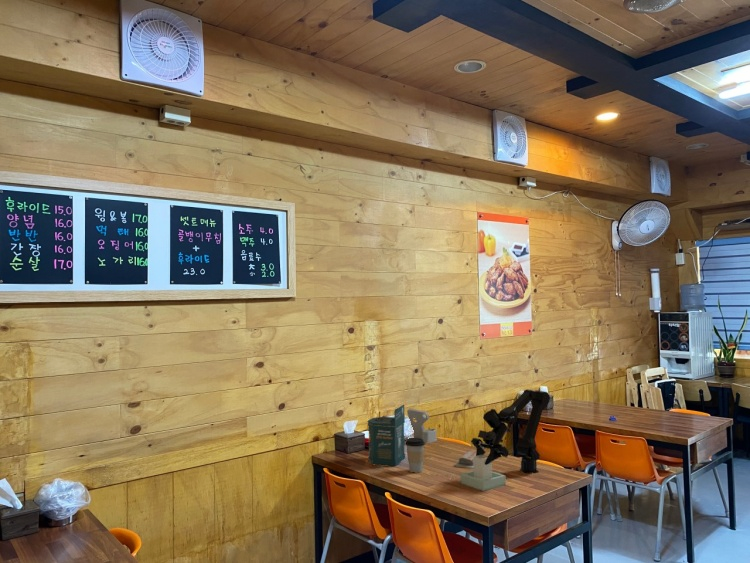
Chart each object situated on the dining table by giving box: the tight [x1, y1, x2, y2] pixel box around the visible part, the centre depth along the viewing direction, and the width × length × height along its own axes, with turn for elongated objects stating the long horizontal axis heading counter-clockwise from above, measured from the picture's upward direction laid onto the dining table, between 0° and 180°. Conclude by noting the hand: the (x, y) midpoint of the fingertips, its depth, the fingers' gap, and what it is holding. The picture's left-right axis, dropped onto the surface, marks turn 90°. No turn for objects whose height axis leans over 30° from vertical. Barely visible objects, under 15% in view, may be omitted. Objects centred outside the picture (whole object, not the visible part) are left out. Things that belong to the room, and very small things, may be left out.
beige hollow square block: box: [473, 454, 493, 480], centre depth 253 cm, size 6×6×9 cm
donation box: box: [367, 404, 406, 467], centre depth 291 cm, size 16×16×28 cm
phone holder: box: [406, 408, 438, 444], centre depth 336 cm, size 17×10×18 cm, turn 41°
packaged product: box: [454, 450, 477, 470], centre depth 285 cm, size 18×5×10 cm
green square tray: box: [459, 470, 507, 492], centre depth 252 cm, size 14×14×4 cm
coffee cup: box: [404, 438, 426, 474], centre depth 273 cm, size 9×9×15 cm
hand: (480, 462), depth 252 cm, fingers closed on beige hollow square block, 6 cm apart
